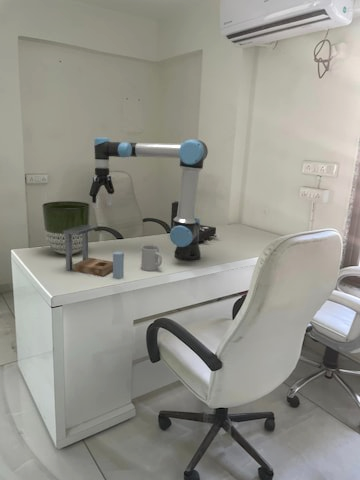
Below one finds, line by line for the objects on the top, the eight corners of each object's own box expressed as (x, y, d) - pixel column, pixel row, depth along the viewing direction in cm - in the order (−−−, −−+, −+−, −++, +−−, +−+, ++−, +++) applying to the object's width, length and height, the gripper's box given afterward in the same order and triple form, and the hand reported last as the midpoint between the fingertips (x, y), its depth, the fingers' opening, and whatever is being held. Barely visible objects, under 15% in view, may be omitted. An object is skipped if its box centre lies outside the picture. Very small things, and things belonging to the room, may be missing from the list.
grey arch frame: (98, 265, 186) (97, 226, 181) (79, 274, 171) (77, 232, 166) (84, 262, 189) (84, 224, 183) (64, 272, 174) (63, 230, 169)
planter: (99, 253, 204) (99, 205, 198) (59, 262, 187) (57, 210, 180) (75, 244, 220) (74, 200, 214) (36, 251, 203) (33, 203, 196)
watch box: (206, 243, 236) (209, 206, 230) (169, 237, 250) (171, 201, 244) (222, 236, 258) (225, 201, 252) (188, 230, 271) (189, 197, 265)
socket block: (116, 270, 180) (116, 262, 179) (103, 277, 169) (103, 269, 168) (89, 265, 185) (89, 257, 184) (74, 272, 174) (74, 264, 173)
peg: (123, 277, 171) (123, 252, 168) (119, 279, 168) (119, 254, 165) (116, 276, 172) (116, 251, 169) (113, 278, 169) (112, 253, 166)
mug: (137, 268, 184) (138, 247, 181) (149, 264, 190) (150, 244, 188) (154, 274, 177) (155, 252, 174) (166, 270, 183) (167, 249, 180)
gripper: (109, 166, 208) (109, 203, 214) (81, 168, 186) (82, 209, 191) (120, 167, 206) (120, 204, 211) (94, 169, 183) (94, 210, 189)
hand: (102, 207), depth 201 cm, fingers open, 13 cm apart
